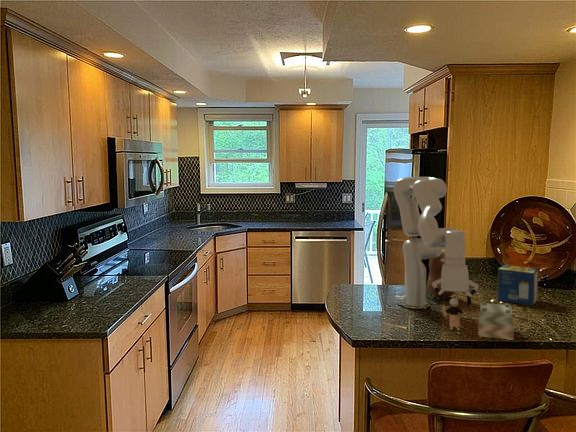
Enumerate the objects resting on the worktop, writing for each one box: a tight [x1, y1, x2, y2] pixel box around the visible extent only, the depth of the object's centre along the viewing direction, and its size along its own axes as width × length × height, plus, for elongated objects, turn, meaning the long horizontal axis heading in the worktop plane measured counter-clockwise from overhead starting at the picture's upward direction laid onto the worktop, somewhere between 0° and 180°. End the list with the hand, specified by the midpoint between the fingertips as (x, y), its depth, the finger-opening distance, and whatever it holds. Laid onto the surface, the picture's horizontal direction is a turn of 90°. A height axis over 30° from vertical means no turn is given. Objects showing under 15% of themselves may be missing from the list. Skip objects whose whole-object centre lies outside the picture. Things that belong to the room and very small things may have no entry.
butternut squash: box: [426, 247, 456, 299], centre depth 222 cm, size 14×13×25 cm
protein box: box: [497, 264, 539, 307], centre depth 215 cm, size 10×15×16 cm
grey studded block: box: [477, 301, 515, 341], centre depth 174 cm, size 12×12×11 cm
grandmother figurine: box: [443, 297, 466, 328], centre depth 180 cm, size 8×4×13 cm, turn 92°
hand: (455, 305), depth 179 cm, fingers open, 9 cm apart
